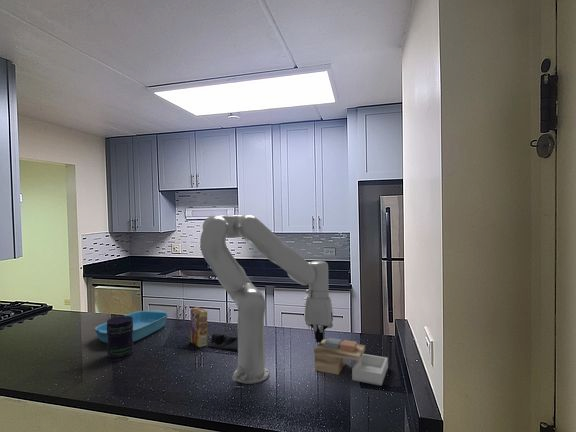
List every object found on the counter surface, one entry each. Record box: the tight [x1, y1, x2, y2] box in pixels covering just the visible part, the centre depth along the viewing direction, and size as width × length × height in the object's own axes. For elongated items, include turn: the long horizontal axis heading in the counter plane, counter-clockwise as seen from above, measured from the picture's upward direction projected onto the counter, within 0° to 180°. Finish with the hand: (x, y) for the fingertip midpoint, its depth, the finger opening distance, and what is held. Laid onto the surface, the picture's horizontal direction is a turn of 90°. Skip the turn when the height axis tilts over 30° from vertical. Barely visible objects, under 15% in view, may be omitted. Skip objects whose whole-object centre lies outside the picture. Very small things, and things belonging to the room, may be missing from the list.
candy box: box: [190, 307, 208, 348], centre depth 155 cm, size 9×4×15 cm, turn 39°
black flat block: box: [207, 332, 238, 352], centre depth 153 cm, size 15×22×5 cm
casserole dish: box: [94, 309, 169, 344], centre depth 169 cm, size 37×22×7 cm, turn 164°
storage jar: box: [106, 315, 134, 361], centre depth 143 cm, size 10×10×15 cm
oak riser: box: [313, 338, 366, 375], centre depth 129 cm, size 11×16×8 cm, turn 66°
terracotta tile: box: [340, 339, 358, 352], centre depth 128 cm, size 5×5×2 cm
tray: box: [351, 353, 389, 386], centre depth 125 cm, size 14×10×4 cm
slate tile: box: [325, 337, 342, 350], centre depth 130 cm, size 5×5×2 cm
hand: (319, 341), depth 133 cm, fingers closed
